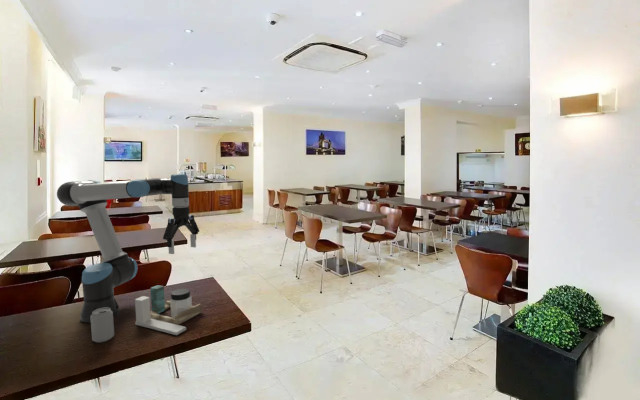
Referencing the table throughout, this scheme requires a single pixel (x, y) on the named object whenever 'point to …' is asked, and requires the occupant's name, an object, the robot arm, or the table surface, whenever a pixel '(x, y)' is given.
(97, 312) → the can
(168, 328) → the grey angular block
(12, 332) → the table surface
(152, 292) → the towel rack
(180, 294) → the jar
